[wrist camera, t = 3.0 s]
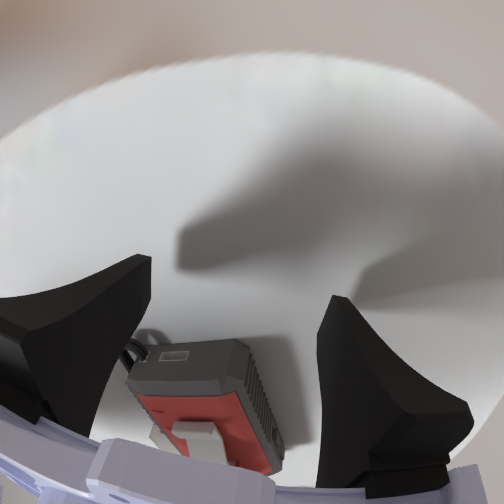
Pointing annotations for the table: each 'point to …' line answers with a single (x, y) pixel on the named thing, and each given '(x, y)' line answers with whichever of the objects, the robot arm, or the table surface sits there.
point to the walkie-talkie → (206, 402)
